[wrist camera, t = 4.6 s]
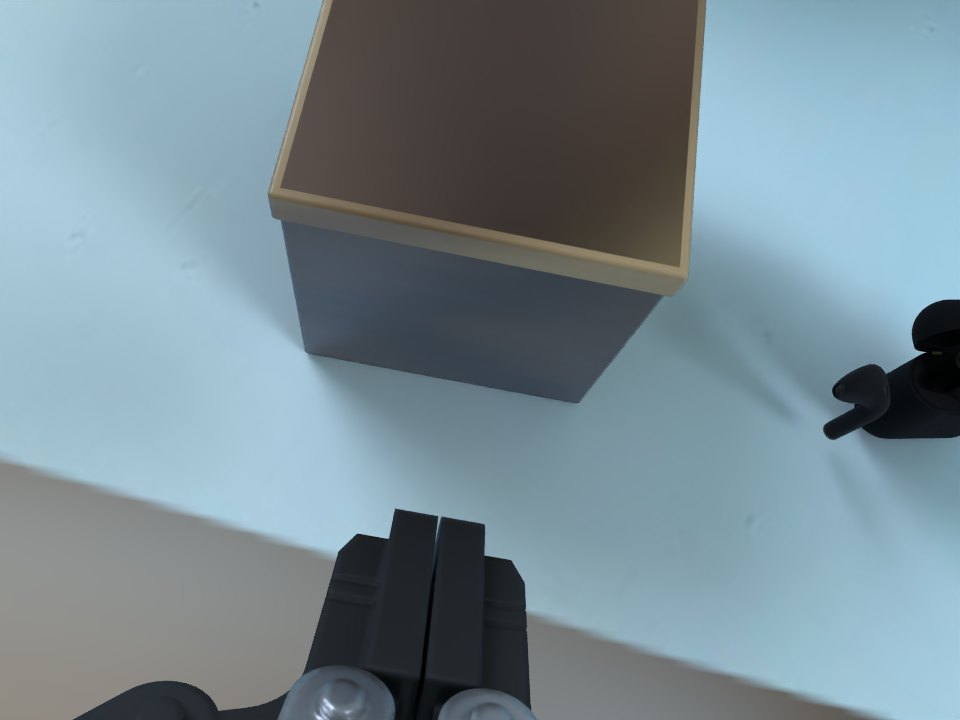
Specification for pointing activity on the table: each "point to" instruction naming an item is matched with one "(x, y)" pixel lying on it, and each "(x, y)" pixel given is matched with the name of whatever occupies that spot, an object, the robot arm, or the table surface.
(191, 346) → the table surface
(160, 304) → the table surface
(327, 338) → the box
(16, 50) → the table surface
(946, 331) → the wireless earbuds
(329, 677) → the robot arm
